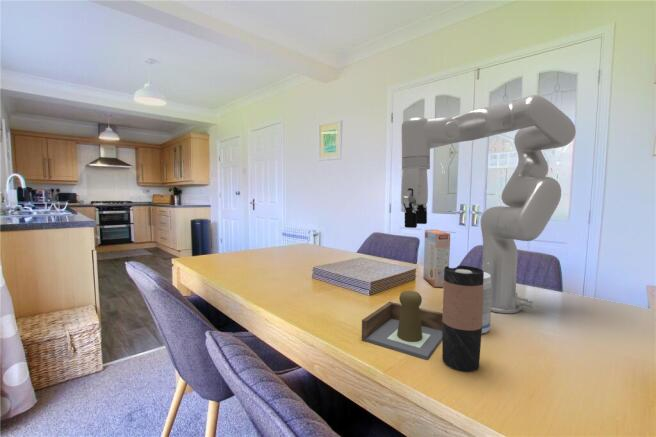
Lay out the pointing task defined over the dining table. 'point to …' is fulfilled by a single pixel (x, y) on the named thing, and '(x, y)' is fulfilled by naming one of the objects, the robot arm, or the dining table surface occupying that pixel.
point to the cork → (410, 317)
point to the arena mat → (390, 340)
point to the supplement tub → (486, 303)
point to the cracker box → (436, 256)
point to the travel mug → (462, 317)
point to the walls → (397, 318)
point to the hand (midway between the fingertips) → (416, 225)
